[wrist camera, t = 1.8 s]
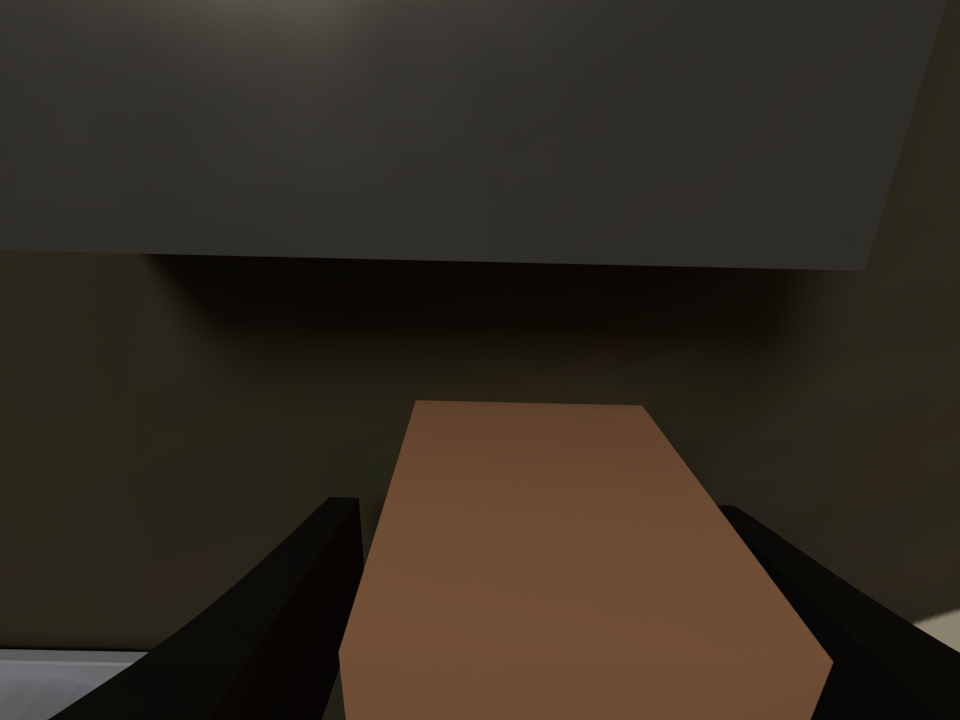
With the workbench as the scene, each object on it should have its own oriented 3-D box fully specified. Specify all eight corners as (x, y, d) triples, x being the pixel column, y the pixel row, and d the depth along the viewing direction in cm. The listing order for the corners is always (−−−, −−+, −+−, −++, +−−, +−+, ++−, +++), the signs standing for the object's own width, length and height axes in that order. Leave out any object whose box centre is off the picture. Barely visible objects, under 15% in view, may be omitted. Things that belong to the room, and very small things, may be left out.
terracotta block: (420, 575, 12) (367, 915, 6) (416, 399, 10) (338, 652, 5) (613, 579, 12) (730, 921, 6) (641, 404, 10) (833, 660, 5)
